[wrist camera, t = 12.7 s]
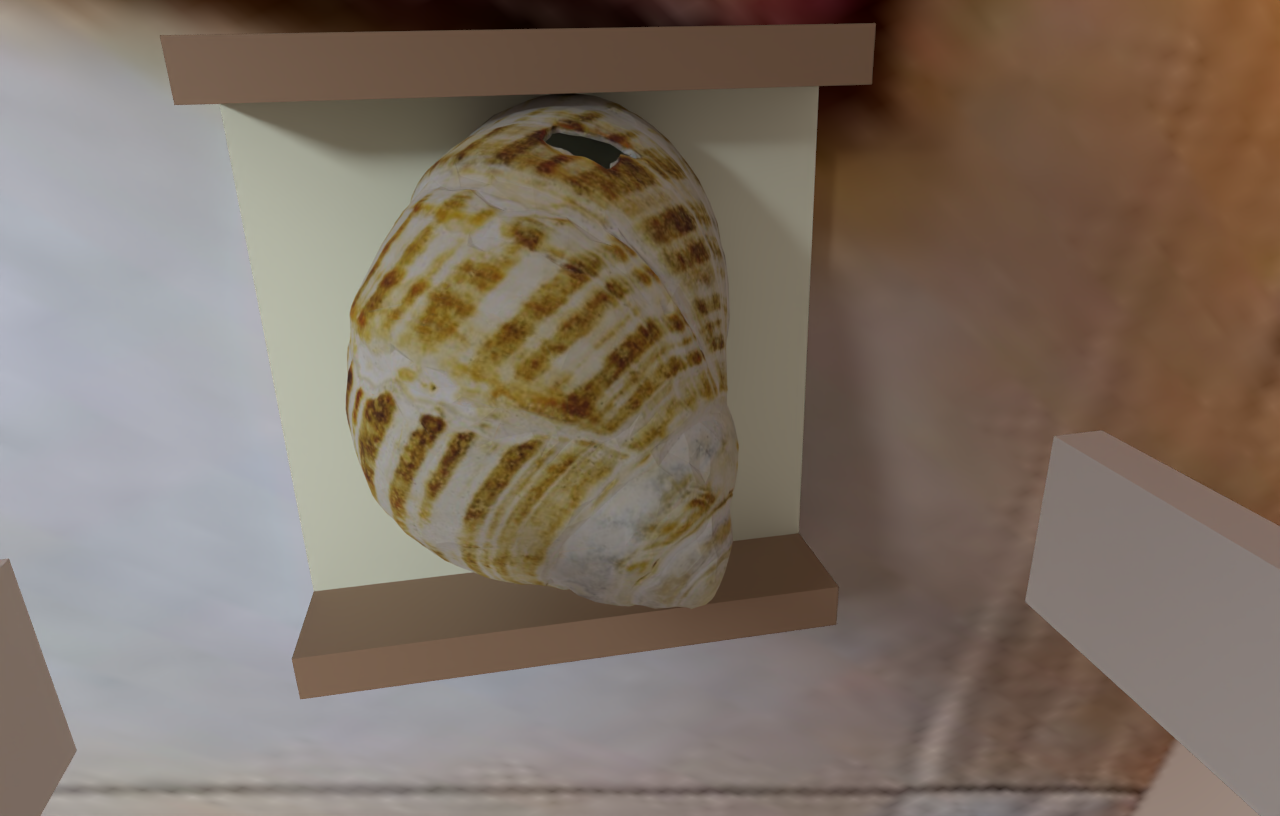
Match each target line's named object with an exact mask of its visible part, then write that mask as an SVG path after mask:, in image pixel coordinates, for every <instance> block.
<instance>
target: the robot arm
mask: <svg viewBox="0 0 1280 816" xmlns="http://www.w3.org/2000/svg"><path fill="white" fill-rule="evenodd" d="M1025 602H1026V603H1027V604H1028V605H1029V606H1030V607H1031V608H1033V609H1034V610H1035V611H1036V612H1037V613H1038V614H1039V615H1040V616H1041V617H1042V618H1044V619H1045V620H1046V621H1047V622H1048V623H1049V624H1050V625H1051V626H1052V627H1053V628H1055V629H1056V630H1057V631H1058V632H1059V633H1060V634H1061V635H1062V636H1063V637H1064V638H1066V639H1067V640H1068V641H1069V642H1070V643H1071V644H1072V645H1073V646H1074V647H1075V648H1076V649H1078V650H1079V651H1080V652H1081V653H1082V654H1083V655H1084V656H1085V657H1086V658H1087V659H1089V660H1090V661H1091V662H1092V663H1093V664H1094V665H1095V666H1096V667H1097V668H1098V669H1100V670H1101V671H1102V672H1103V673H1104V674H1105V675H1106V676H1107V677H1108V678H1109V679H1111V680H1112V681H1113V682H1114V683H1115V684H1116V685H1117V686H1118V687H1119V688H1120V689H1122V690H1123V691H1124V692H1125V693H1126V694H1127V695H1128V696H1129V697H1130V698H1131V699H1132V700H1134V701H1135V702H1136V703H1137V704H1138V705H1139V706H1140V707H1141V708H1142V709H1143V710H1145V711H1146V712H1147V713H1148V714H1149V715H1150V716H1151V717H1152V718H1153V719H1154V720H1156V721H1157V722H1158V723H1159V724H1160V725H1161V726H1162V727H1163V728H1164V729H1165V730H1167V731H1168V732H1169V733H1170V734H1171V735H1172V736H1173V737H1174V738H1175V739H1176V740H1178V741H1179V742H1180V743H1181V744H1182V745H1183V746H1184V747H1185V748H1186V749H1187V750H1189V751H1190V752H1191V753H1192V754H1193V755H1194V756H1195V757H1196V758H1197V759H1199V760H1200V761H1201V762H1202V763H1203V764H1204V765H1205V766H1206V767H1207V768H1208V769H1210V770H1211V771H1212V772H1213V773H1214V774H1215V775H1216V776H1217V777H1218V778H1219V779H1220V780H1222V781H1223V782H1224V783H1225V784H1226V785H1227V786H1228V787H1229V788H1230V789H1231V790H1232V791H1234V792H1235V793H1236V794H1237V795H1238V796H1239V797H1240V798H1241V799H1242V800H1243V801H1245V802H1246V803H1247V804H1248V805H1249V806H1250V807H1251V808H1252V809H1253V810H1254V811H1255V812H1257V813H1258V814H1259V815H1260V816H1280V526H1278V525H1276V524H1275V523H1273V522H1271V521H1269V520H1267V519H1265V518H1264V517H1262V516H1260V515H1258V514H1256V513H1254V512H1252V511H1251V510H1249V509H1247V508H1245V507H1243V506H1241V505H1239V504H1238V503H1236V502H1234V501H1232V500H1230V499H1228V498H1226V497H1225V496H1223V495H1221V494H1219V493H1217V492H1215V491H1213V490H1212V489H1210V488H1208V487H1206V486H1204V485H1202V484H1200V483H1199V482H1197V481H1195V480H1193V479H1191V478H1189V477H1188V476H1186V475H1184V474H1182V473H1180V472H1178V471H1176V470H1175V469H1173V468H1171V467H1169V466H1167V465H1165V464H1163V463H1162V462H1160V461H1158V460H1156V459H1154V458H1152V457H1150V456H1149V455H1147V454H1145V453H1143V452H1141V451H1139V450H1137V449H1136V448H1134V447H1132V446H1130V445H1128V444H1126V443H1124V442H1123V441H1121V440H1119V439H1117V438H1115V437H1113V436H1112V435H1110V434H1108V433H1106V432H1104V431H1102V430H1101V431H1092V432H1084V433H1075V434H1066V435H1058V436H1054V439H1053V444H1052V450H1051V456H1050V462H1049V467H1048V473H1047V479H1046V485H1045V490H1044V496H1043V502H1042V508H1041V513H1040V519H1039V525H1038V530H1037V536H1036V542H1035V548H1034V553H1033V559H1032V565H1031V571H1030V576H1029V582H1028V588H1027V594H1026V599H1025ZM76 751H77V750H76V747H75V744H74V741H73V739H72V736H71V733H70V730H69V727H68V724H67V722H66V719H65V716H64V713H63V710H62V707H61V705H60V702H59V699H58V696H57V693H56V691H55V688H54V685H53V682H52V679H51V676H50V674H49V671H48V668H47V665H46V662H45V659H44V657H43V654H42V651H41V648H40V645H39V642H38V640H37V637H36V634H35V631H34V628H33V625H32V623H31V620H30V617H29V614H28V611H27V608H26V606H25V603H24V600H23V597H22V594H21V591H20V589H19V586H18V583H17V580H16V577H15V575H14V572H13V569H12V566H11V563H10V560H9V559H2V560H0V816H40V815H41V814H42V812H43V810H44V808H45V806H46V805H47V803H48V801H49V799H50V797H51V796H52V794H53V792H54V790H55V788H56V787H57V785H58V783H59V781H60V780H61V778H62V776H63V774H64V772H65V771H66V769H67V767H68V765H69V763H70V762H71V760H72V758H73V756H74V755H75V753H76Z"/></svg>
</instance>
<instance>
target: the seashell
mask: <svg viewBox="0 0 1280 816" xmlns="http://www.w3.org/2000/svg"><path fill="white" fill-rule="evenodd" d="M554 133H563V134H567V135H573V136H583V137H586V138H590V139H594V140H598V141H601V142H605V143H608V144H611V145H612V146H614V147H616V148H617V149H619V150H620V151H622V152H623V153H624V154H627V155H629V156H626V155H622V154H620V156H619V157H618V159H617V160H616V161H615V162H613V163H611V164H610V169H606V168H604V167H603V166H601V165H599V164H598V163H596V162H594V161H592V160H590V159H588V158H586V157H583V156H574V155H573V154H571V153H570V152H569V151H567V150H564V149H562V148H556V147H553V146H550V145H548V144H547V143H546V141H547V140H548V139H549V138H550V137H551V134H554ZM729 321H730V314H729V283H728V275H727V267H726V259H725V254H724V251H723V248H722V245H721V239H720V234H719V228H718V223H717V220H716V217H715V215H714V212H713V209H712V207H711V204H710V202H709V200H708V197H707V195H706V193H705V191H704V189H703V187H702V185H701V183H700V181H699V179H698V178H697V176H696V175H695V173H694V172H693V170H692V169H691V168H690V166H689V165H688V163H687V162H686V161H685V159H684V158H683V157H682V156H681V154H680V153H679V152H678V151H677V149H676V148H675V147H674V146H673V144H672V143H671V142H670V141H669V140H668V139H667V138H666V137H665V136H664V135H663V134H661V133H660V132H659V131H658V130H657V129H656V128H655V127H654V126H652V125H651V124H650V123H648V122H647V121H645V120H644V119H643V118H641V117H640V116H638V115H637V114H635V113H633V112H631V111H629V110H627V109H626V108H624V107H623V106H621V105H620V104H617V103H614V102H612V101H609V100H606V99H603V98H600V97H597V96H592V95H584V94H576V93H566V94H551V95H546V96H541V97H537V98H534V99H530V100H527V101H525V102H523V103H520V104H518V105H516V106H513V107H511V108H509V109H506V110H504V111H501V112H499V113H497V114H494V115H493V116H492V117H491V118H489V119H488V120H487V121H486V122H485V123H483V124H482V125H481V126H480V127H478V128H477V129H476V130H475V131H474V132H472V133H471V134H470V135H469V136H468V137H467V138H466V139H465V140H464V141H462V142H461V143H459V144H457V145H456V146H454V147H453V148H452V149H450V150H449V151H448V152H447V153H446V154H445V155H443V156H442V157H441V158H440V159H439V160H438V161H436V162H435V163H434V164H433V165H432V166H431V167H430V168H429V169H428V170H427V171H426V172H425V174H424V175H423V176H422V178H421V179H420V181H419V182H418V184H417V186H416V188H415V190H414V192H413V195H412V197H411V202H410V204H409V205H408V206H407V207H406V209H405V210H404V211H403V212H402V213H401V215H400V216H399V218H398V219H397V220H396V222H395V224H394V226H393V227H392V229H391V231H390V232H389V234H388V235H387V237H386V238H385V240H384V241H383V243H382V245H381V247H380V249H379V251H378V253H377V254H376V256H375V258H374V260H373V262H372V264H371V266H370V268H369V270H368V272H367V274H366V276H365V278H364V280H363V282H362V284H361V286H360V288H359V290H358V292H357V294H356V296H355V298H354V300H353V303H352V305H351V309H350V329H351V331H350V341H349V345H348V350H347V372H348V378H347V390H346V414H347V420H348V424H349V428H350V432H351V436H352V440H353V445H354V449H355V452H356V454H357V457H358V460H359V463H360V466H361V468H362V471H363V473H364V476H365V478H366V481H367V483H368V486H369V488H370V490H371V493H372V495H373V497H374V498H375V500H376V501H377V502H378V504H379V505H380V506H381V507H382V508H383V510H384V511H385V512H386V513H387V514H388V515H389V516H390V517H392V518H393V519H394V521H395V522H396V523H397V524H398V525H399V526H400V528H401V529H402V530H403V531H404V532H405V533H406V534H407V535H409V536H410V537H412V538H413V539H414V540H416V541H417V542H419V543H420V544H421V545H423V546H424V547H426V548H427V549H428V550H430V551H431V552H433V553H434V554H436V555H437V556H439V557H440V558H442V559H443V560H445V561H447V562H450V563H452V564H454V565H456V566H459V567H461V568H464V569H466V570H469V571H471V572H474V573H476V574H479V575H481V576H484V577H486V578H489V579H494V580H498V581H503V582H509V583H514V584H520V585H525V584H532V585H541V586H547V585H548V586H551V587H554V588H558V589H561V590H568V589H570V590H572V591H573V592H574V593H576V594H577V595H579V596H581V597H584V598H586V599H589V600H592V601H594V602H598V603H604V604H610V605H616V606H633V605H643V606H647V607H650V608H654V609H658V608H670V607H686V608H690V609H693V608H696V607H700V606H703V605H706V604H707V603H708V602H709V601H711V600H712V599H713V597H714V596H715V594H716V592H717V590H718V588H719V586H720V584H721V581H722V578H723V576H724V573H725V570H726V567H727V563H728V560H729V556H730V552H731V547H732V543H733V534H732V523H731V514H730V506H729V505H730V502H731V499H732V497H733V491H734V488H735V483H736V477H737V471H738V451H739V444H738V439H737V434H736V429H735V425H734V421H733V418H732V415H731V413H730V410H729V408H728V406H727V392H728V386H727V362H726V340H727V336H728V329H729Z"/></svg>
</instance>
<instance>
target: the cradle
mask: <svg viewBox="0 0 1280 816" xmlns="http://www.w3.org/2000/svg"><path fill="white" fill-rule="evenodd" d="M875 28H876V23H860V24H801V25H742V26H683V27H624V28H565V29H506V30H447V31H388V32H329V33H270V34H211V35H160V39H161V43H162V48H163V53H164V58H165V62H166V67H167V72H168V76H169V81H170V86H171V91H172V95H173V100H174V105H193V104H220V109H221V114H222V119H223V125H224V130H225V135H226V140H227V145H228V150H229V156H230V161H231V166H232V171H233V176H234V181H235V187H236V192H237V197H238V202H239V207H240V212H241V218H242V223H243V228H244V233H245V238H246V243H247V249H248V254H249V259H250V264H251V269H252V274H253V280H254V285H255V290H256V295H257V300H258V305H259V310H260V316H261V321H262V326H263V331H264V336H265V341H266V347H267V352H268V357H269V362H270V367H271V372H272V378H273V383H274V388H275V393H276V398H277V403H278V409H279V414H280V419H281V424H282V429H283V434H284V440H285V445H286V450H287V455H288V460H289V465H290V471H291V476H292V481H293V486H294V491H295V496H296V502H297V507H298V512H299V517H300V522H301V527H302V532H303V538H304V543H305V548H306V553H307V558H308V563H309V569H310V574H311V579H312V584H313V589H314V593H313V596H312V599H311V602H310V605H309V608H308V611H307V614H306V617H305V620H304V623H303V626H302V629H301V632H300V636H299V639H298V642H297V645H296V648H295V651H294V654H293V657H292V662H293V667H294V672H295V676H296V681H297V686H298V691H299V695H300V699H306V698H313V697H321V696H328V695H335V694H342V693H349V692H357V691H364V690H371V689H378V688H385V687H392V686H400V685H407V684H414V683H421V682H428V681H435V680H443V679H450V678H457V677H464V676H471V675H478V674H486V673H493V672H500V671H507V670H514V669H521V668H529V667H536V666H543V665H550V664H557V663H564V662H572V661H579V660H586V659H593V658H600V657H608V656H615V655H622V654H629V653H636V652H643V651H651V650H658V649H665V648H672V647H679V646H686V645H694V644H701V643H708V642H715V641H722V640H729V639H737V638H744V637H751V636H758V635H765V634H772V633H780V632H787V631H794V630H801V629H808V628H815V627H823V626H830V625H836V620H837V605H838V590H839V587H838V585H837V584H836V583H835V581H834V580H833V579H832V577H831V576H830V575H829V573H828V572H827V571H826V569H825V568H824V566H823V565H822V564H821V562H820V561H819V560H818V558H817V557H816V556H815V554H814V553H813V552H812V550H811V549H810V548H809V546H808V545H807V544H806V542H805V541H804V540H803V538H802V537H801V536H800V534H799V518H800V495H801V473H802V451H803V429H804V406H805V384H806V362H807V339H808V317H809V295H810V273H811V250H812V228H813V206H814V184H815V161H816V139H817V117H818V95H819V86H838V85H869V84H872V73H873V58H874V43H875ZM566 93H576V94H584V95H592V96H597V97H600V98H603V99H606V100H609V101H612V102H614V103H617V104H620V105H621V106H623V107H624V108H626V109H627V110H629V111H631V112H633V113H635V114H637V115H638V116H640V117H641V118H643V119H644V120H645V121H647V122H648V123H650V124H651V125H652V126H654V127H655V128H656V129H657V130H658V131H659V132H660V133H661V134H663V135H664V136H665V137H666V138H667V139H668V140H669V141H670V142H671V143H672V144H673V146H674V147H675V148H676V149H677V151H678V152H679V153H680V154H681V156H682V157H683V158H684V159H685V161H686V162H687V163H688V165H689V166H690V168H691V169H692V170H693V172H694V173H695V175H696V176H697V178H698V179H699V181H700V183H701V185H702V187H703V189H704V191H705V193H706V195H707V197H708V200H709V202H710V204H711V207H712V209H713V212H714V215H715V217H716V220H717V223H718V228H719V234H720V239H721V245H722V248H723V251H724V254H725V259H726V267H727V275H728V283H729V314H730V321H729V329H728V336H727V340H726V362H727V386H728V392H727V406H728V408H729V410H730V413H731V415H732V418H733V421H734V425H735V429H736V434H737V439H738V444H739V451H738V471H737V477H736V483H735V488H734V491H733V497H732V499H731V502H730V505H729V506H730V514H731V523H732V534H733V543H732V547H731V552H730V556H729V560H728V563H727V567H726V570H725V573H724V576H723V578H722V581H721V584H720V586H719V588H718V590H717V592H716V594H715V596H714V597H713V599H712V600H711V601H709V602H708V603H707V604H706V605H703V606H700V607H696V608H693V609H690V608H686V607H670V608H658V609H654V608H650V607H647V606H643V605H633V606H616V605H610V604H604V603H598V602H594V601H592V600H589V599H586V598H584V597H581V596H579V595H577V594H576V593H574V592H573V591H572V590H570V589H568V590H561V589H558V588H554V587H551V586H548V585H547V586H541V585H532V584H525V585H520V584H514V583H509V582H503V581H498V580H494V579H489V578H486V577H484V576H481V575H479V574H476V573H474V572H471V571H469V570H466V569H464V568H461V567H459V566H456V565H454V564H452V563H450V562H447V561H445V560H443V559H442V558H440V557H439V556H437V555H436V554H434V553H433V552H431V551H430V550H428V549H427V548H426V547H424V546H423V545H421V544H420V543H419V542H417V541H416V540H414V539H413V538H412V537H410V536H409V535H407V534H406V533H405V532H404V531H403V530H402V529H401V528H400V526H399V525H398V524H397V523H396V522H395V521H394V519H393V518H392V517H390V516H389V515H388V514H387V513H386V512H385V511H384V510H383V508H382V507H381V506H380V505H379V504H378V502H377V501H376V500H375V498H374V497H373V495H372V493H371V490H370V488H369V486H368V483H367V481H366V478H365V476H364V473H363V471H362V468H361V466H360V463H359V460H358V457H357V454H356V452H355V449H354V445H353V440H352V436H351V432H350V428H349V424H348V420H347V414H346V390H347V378H348V372H347V350H348V345H349V341H350V331H351V329H350V309H351V305H352V303H353V300H354V298H355V296H356V294H357V292H358V290H359V288H360V286H361V284H362V282H363V280H364V278H365V276H366V274H367V272H368V270H369V268H370V266H371V264H372V262H373V260H374V258H375V256H376V254H377V253H378V251H379V249H380V247H381V245H382V243H383V241H384V240H385V238H386V237H387V235H388V234H389V232H390V231H391V229H392V227H393V226H394V224H395V222H396V220H397V219H398V218H399V216H400V215H401V213H402V212H403V211H404V210H405V209H406V207H407V206H408V205H409V204H410V202H411V197H412V195H413V192H414V190H415V188H416V186H417V184H418V182H419V181H420V179H421V178H422V176H423V175H424V174H425V172H426V171H427V170H428V169H429V168H430V167H431V166H432V165H433V164H434V163H435V162H436V161H438V160H439V159H440V158H441V157H442V156H443V155H445V154H446V153H447V152H448V151H449V150H450V149H452V148H453V147H454V146H456V145H457V144H459V143H461V142H462V141H464V140H465V139H466V138H467V137H468V136H469V135H470V134H471V133H472V132H474V131H475V130H476V129H477V128H478V127H480V126H481V125H482V124H483V123H485V122H486V121H487V120H488V119H489V118H491V117H492V116H493V115H494V114H497V113H499V112H501V111H504V110H506V109H509V108H511V107H513V106H516V105H518V104H520V103H523V102H525V101H527V100H530V99H534V98H537V97H541V96H546V95H551V94H566ZM546 143H547V144H548V145H550V146H553V147H556V148H562V149H564V150H567V151H569V152H570V153H571V154H573V155H574V156H583V157H586V158H588V159H590V160H592V161H594V162H596V163H598V164H599V165H601V166H603V167H604V168H606V169H610V164H611V163H613V162H615V161H616V160H617V159H618V157H619V156H620V154H622V155H626V156H629V155H627V154H624V153H623V152H622V151H620V150H619V149H617V148H616V147H614V146H612V145H611V144H608V143H605V142H601V141H598V140H594V139H590V138H586V137H583V136H573V135H567V134H563V133H554V134H551V137H550V138H549V139H548V140H547V141H546Z"/></svg>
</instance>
